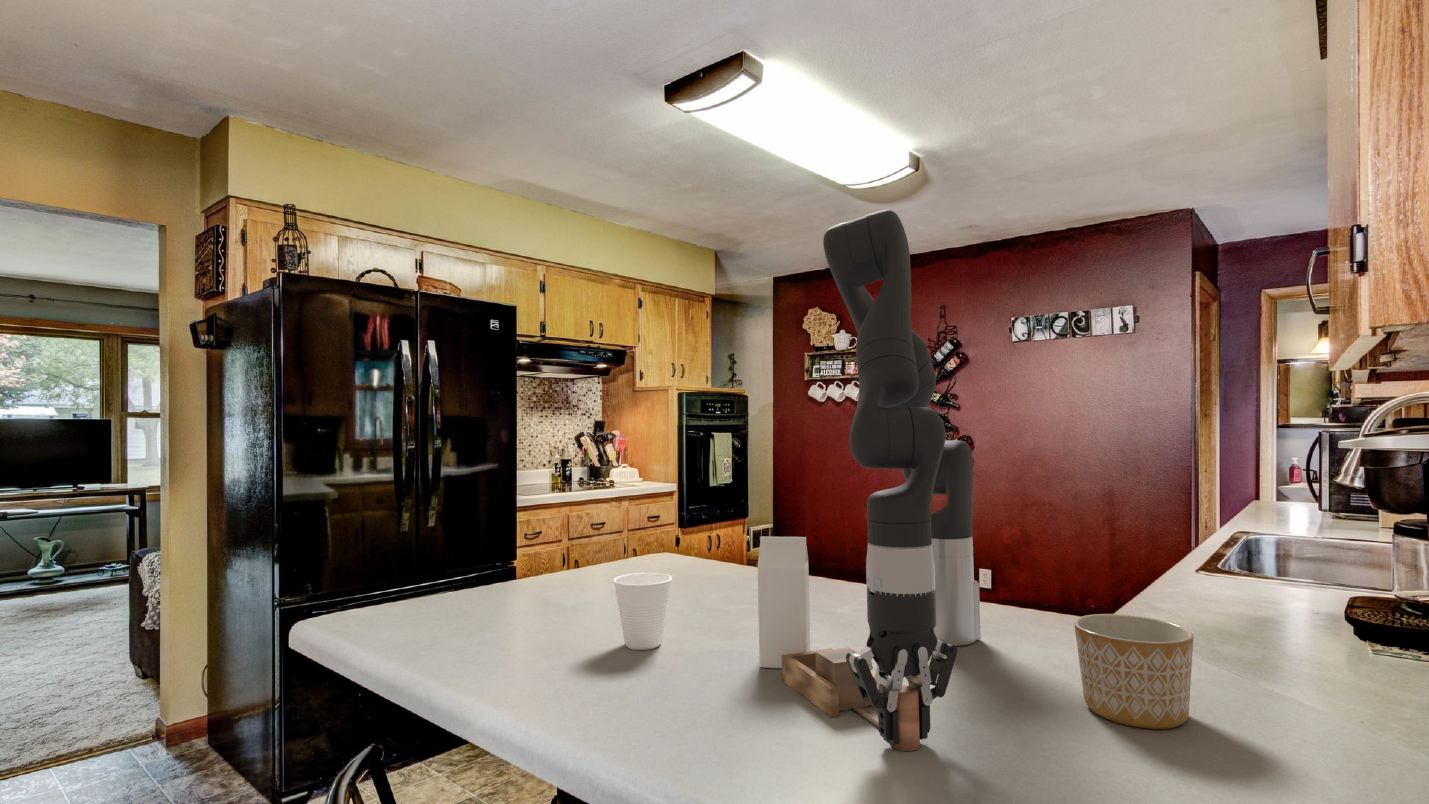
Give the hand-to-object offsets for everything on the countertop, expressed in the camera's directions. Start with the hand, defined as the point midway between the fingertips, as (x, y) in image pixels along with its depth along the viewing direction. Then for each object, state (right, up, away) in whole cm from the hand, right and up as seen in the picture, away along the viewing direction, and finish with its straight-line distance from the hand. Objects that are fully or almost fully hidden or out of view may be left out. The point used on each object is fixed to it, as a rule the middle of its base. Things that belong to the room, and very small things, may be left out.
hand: (904, 738), depth 78 cm
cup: (-33, -3, +39) cm, 51 cm away
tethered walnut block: (-2, -1, +7) cm, 7 cm away
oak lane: (-6, -1, +16) cm, 17 cm away
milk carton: (-10, -2, +29) cm, 31 cm away
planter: (+30, -1, +8) cm, 31 cm away
